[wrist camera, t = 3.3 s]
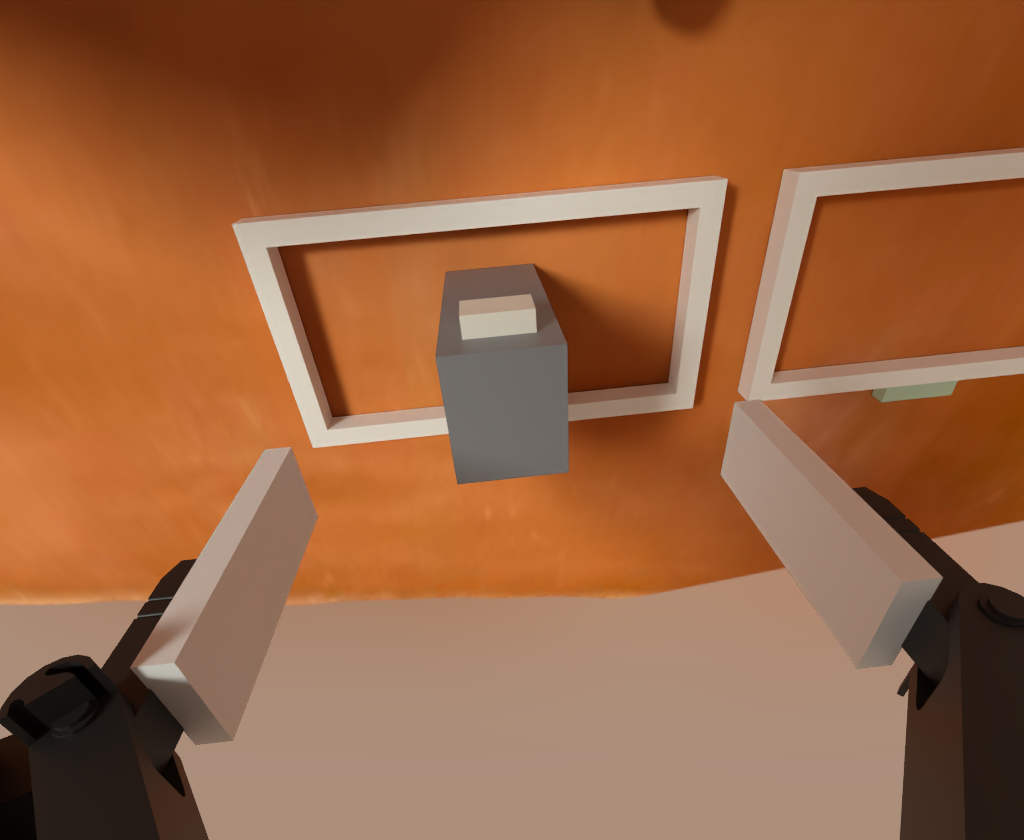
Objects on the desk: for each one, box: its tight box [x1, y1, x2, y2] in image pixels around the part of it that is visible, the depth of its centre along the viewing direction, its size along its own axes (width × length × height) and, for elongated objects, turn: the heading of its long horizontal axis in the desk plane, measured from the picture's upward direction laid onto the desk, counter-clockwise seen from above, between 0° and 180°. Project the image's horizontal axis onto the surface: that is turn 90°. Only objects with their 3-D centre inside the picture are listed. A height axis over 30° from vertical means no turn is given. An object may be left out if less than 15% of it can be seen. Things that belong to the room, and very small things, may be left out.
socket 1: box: [232, 175, 728, 448], centre depth 23 cm, size 20×12×1 cm, turn 94°
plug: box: [436, 264, 569, 484], centre depth 20 cm, size 4×6×9 cm
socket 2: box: [738, 147, 1024, 402], centre depth 24 cm, size 20×12×1 cm, turn 94°
